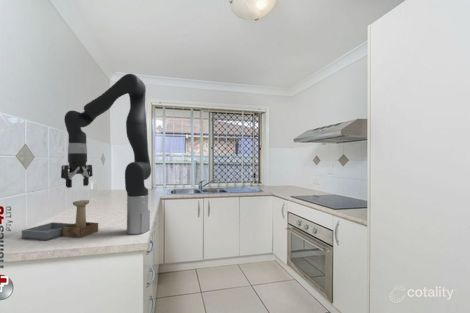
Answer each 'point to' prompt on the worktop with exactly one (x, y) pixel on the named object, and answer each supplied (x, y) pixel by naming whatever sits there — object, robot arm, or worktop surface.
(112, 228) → the worktop surface
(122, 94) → the robot arm
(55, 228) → the tray
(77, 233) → the brown wooden box
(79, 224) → the handle
